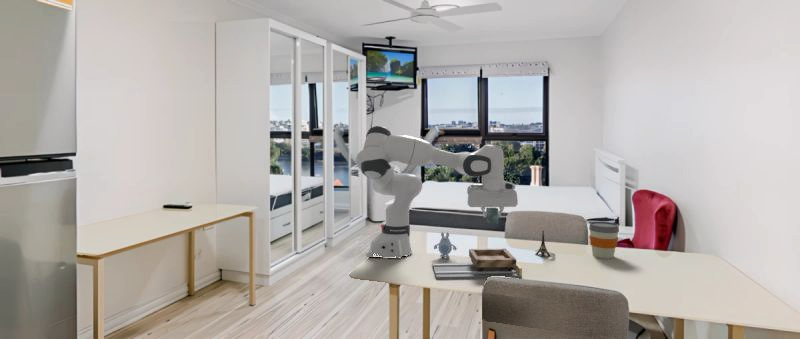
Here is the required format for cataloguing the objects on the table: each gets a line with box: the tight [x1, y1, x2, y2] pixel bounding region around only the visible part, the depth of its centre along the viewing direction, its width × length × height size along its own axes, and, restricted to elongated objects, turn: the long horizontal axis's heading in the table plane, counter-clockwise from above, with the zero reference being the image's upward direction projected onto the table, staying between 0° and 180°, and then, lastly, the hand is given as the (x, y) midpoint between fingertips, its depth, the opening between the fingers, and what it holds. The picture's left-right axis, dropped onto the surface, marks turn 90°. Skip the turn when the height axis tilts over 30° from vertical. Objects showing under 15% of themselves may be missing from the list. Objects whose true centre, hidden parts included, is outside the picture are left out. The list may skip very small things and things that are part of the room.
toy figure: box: [433, 231, 458, 259], centre depth 199 cm, size 11×6×12 cm, turn 77°
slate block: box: [485, 207, 499, 225], centre depth 177 cm, size 4×4×6 cm
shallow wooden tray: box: [468, 248, 517, 272], centre depth 179 cm, size 16×16×6 cm
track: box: [431, 262, 523, 280], centre depth 179 cm, size 34×18×4 cm, turn 91°
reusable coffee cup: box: [588, 221, 620, 259], centre depth 200 cm, size 13×12×15 cm
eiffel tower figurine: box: [534, 230, 556, 262], centre depth 201 cm, size 15×10×13 cm
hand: (492, 217), depth 178 cm, fingers closed on slate block, 4 cm apart
